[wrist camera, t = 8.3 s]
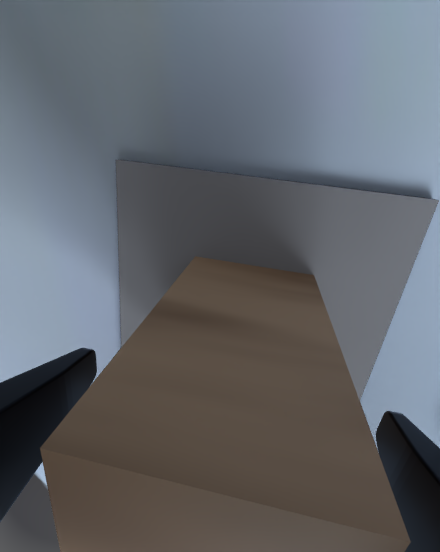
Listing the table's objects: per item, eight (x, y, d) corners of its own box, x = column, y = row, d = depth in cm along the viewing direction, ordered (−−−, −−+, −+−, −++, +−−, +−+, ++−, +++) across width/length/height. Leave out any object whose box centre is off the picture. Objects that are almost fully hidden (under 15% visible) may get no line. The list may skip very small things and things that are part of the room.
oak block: (289, 371, 14) (315, 689, 5) (187, 351, 14) (72, 611, 6) (313, 275, 12) (410, 542, 4) (195, 256, 12) (40, 448, 4)
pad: (342, 433, 15) (344, 440, 15) (125, 385, 16) (122, 390, 16) (432, 199, 10) (439, 200, 10) (120, 159, 12) (115, 159, 11)
